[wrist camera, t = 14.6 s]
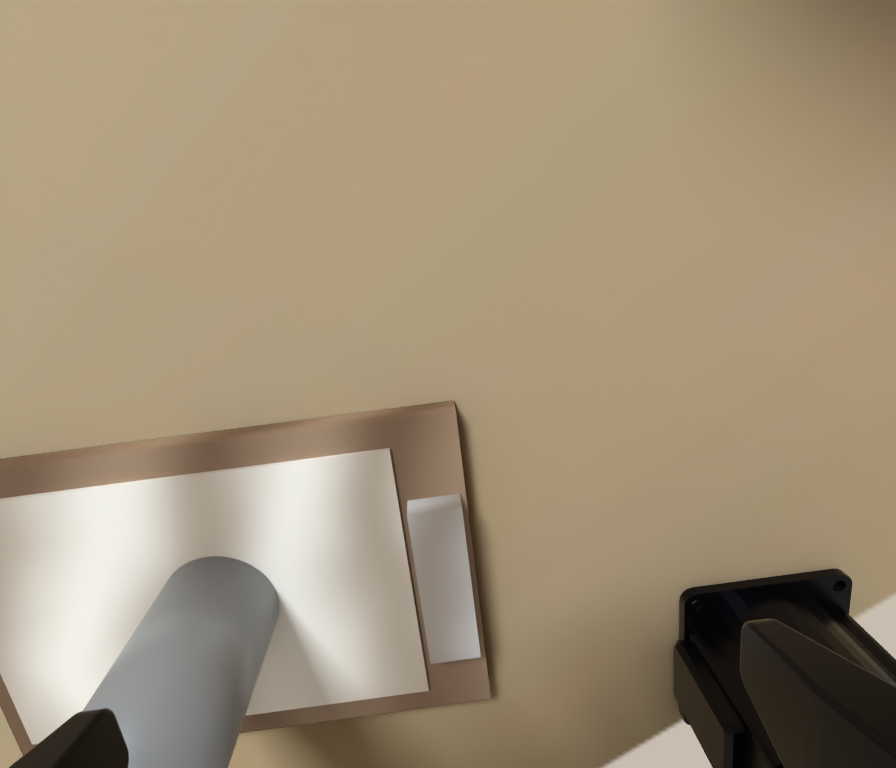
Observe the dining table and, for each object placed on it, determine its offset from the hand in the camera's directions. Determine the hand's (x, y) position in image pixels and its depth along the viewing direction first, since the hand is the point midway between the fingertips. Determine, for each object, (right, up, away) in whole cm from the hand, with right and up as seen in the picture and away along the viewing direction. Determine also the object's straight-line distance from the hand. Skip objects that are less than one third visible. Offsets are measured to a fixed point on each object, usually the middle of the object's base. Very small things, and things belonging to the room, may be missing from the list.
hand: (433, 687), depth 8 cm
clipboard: (-8, -3, +13) cm, 16 cm away
